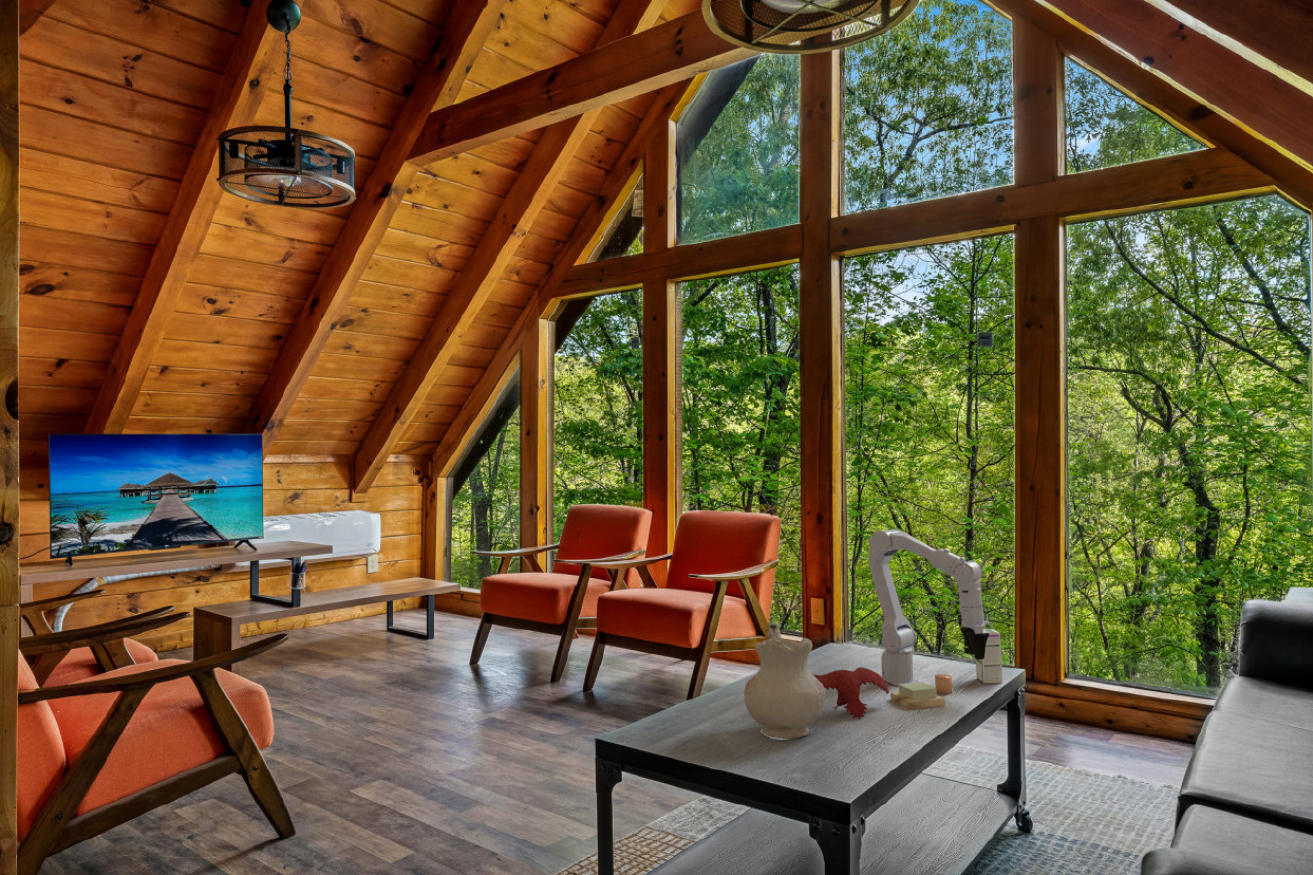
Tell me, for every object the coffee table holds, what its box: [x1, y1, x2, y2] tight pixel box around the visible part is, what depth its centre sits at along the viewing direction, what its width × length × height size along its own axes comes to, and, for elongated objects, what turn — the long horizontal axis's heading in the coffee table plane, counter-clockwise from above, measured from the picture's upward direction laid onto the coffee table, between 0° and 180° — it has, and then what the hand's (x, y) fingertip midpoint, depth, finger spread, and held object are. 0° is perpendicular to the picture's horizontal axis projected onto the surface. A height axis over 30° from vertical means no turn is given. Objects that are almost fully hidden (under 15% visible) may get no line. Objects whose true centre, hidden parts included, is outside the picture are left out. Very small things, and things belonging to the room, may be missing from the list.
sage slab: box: [898, 681, 938, 700], centre depth 229 cm, size 7×7×2 cm
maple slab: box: [890, 691, 946, 710], centre depth 229 cm, size 10×10×2 cm
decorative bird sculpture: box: [811, 666, 890, 720], centre depth 222 cm, size 28×9×15 cm
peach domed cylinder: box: [934, 673, 953, 696], centre depth 238 cm, size 4×4×4 cm
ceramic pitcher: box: [743, 622, 826, 740], centre depth 209 cm, size 22×20×25 cm
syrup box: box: [975, 628, 1003, 684], centre depth 249 cm, size 6×6×14 cm
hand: (977, 656), depth 234 cm, fingers open, 7 cm apart
